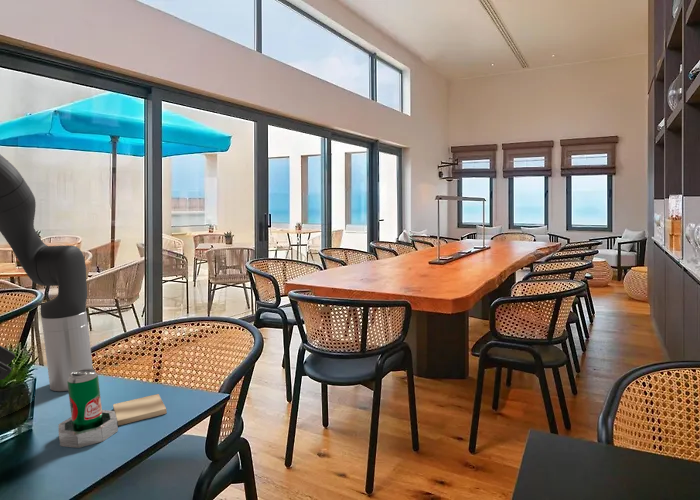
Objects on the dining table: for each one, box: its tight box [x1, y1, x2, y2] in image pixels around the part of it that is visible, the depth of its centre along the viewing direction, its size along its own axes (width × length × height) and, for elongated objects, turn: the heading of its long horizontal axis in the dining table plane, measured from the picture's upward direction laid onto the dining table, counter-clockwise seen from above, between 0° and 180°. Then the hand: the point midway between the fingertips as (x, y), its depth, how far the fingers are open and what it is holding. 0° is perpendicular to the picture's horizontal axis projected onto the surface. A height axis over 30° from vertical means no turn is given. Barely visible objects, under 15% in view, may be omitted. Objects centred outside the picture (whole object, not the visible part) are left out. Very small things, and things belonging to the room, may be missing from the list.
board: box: [112, 393, 168, 426], centre depth 102 cm, size 9×9×1 cm
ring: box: [57, 409, 119, 449], centre depth 93 cm, size 10×10×2 cm
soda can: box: [67, 368, 103, 432], centre depth 93 cm, size 5×5×12 cm
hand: (9, 367), depth 86 cm, fingers open, 8 cm apart
